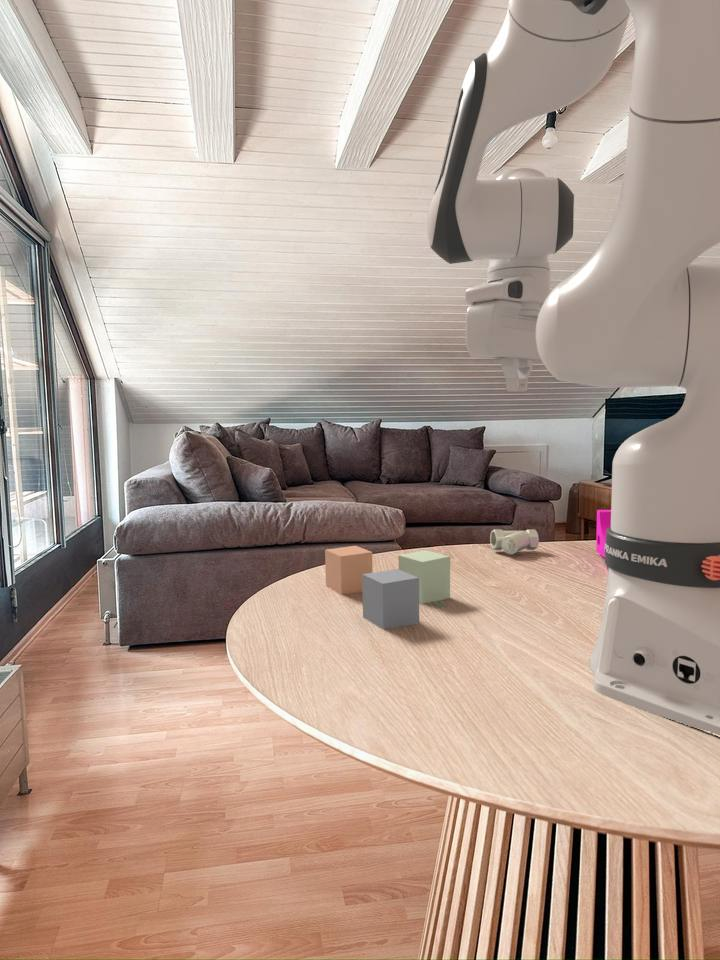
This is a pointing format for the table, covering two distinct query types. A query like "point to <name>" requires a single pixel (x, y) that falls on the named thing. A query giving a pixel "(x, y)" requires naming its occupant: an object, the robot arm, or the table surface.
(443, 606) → the small gray-green block
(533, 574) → the table surface
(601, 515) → the magenta curved bracket
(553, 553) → the table surface
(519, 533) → the pipe fitting
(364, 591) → the slate block
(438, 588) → the sage block
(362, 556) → the terracotta block
